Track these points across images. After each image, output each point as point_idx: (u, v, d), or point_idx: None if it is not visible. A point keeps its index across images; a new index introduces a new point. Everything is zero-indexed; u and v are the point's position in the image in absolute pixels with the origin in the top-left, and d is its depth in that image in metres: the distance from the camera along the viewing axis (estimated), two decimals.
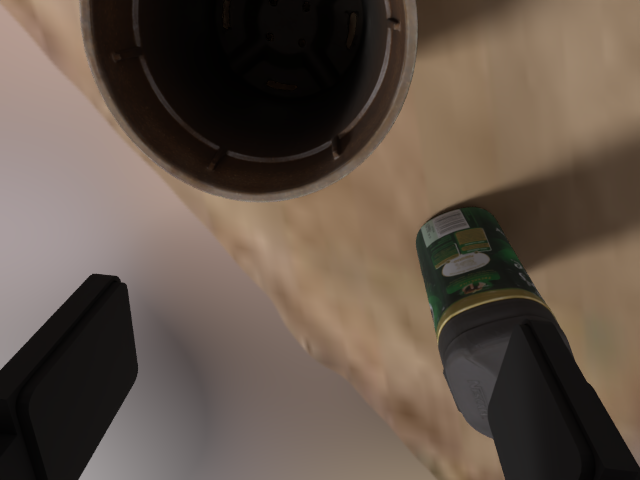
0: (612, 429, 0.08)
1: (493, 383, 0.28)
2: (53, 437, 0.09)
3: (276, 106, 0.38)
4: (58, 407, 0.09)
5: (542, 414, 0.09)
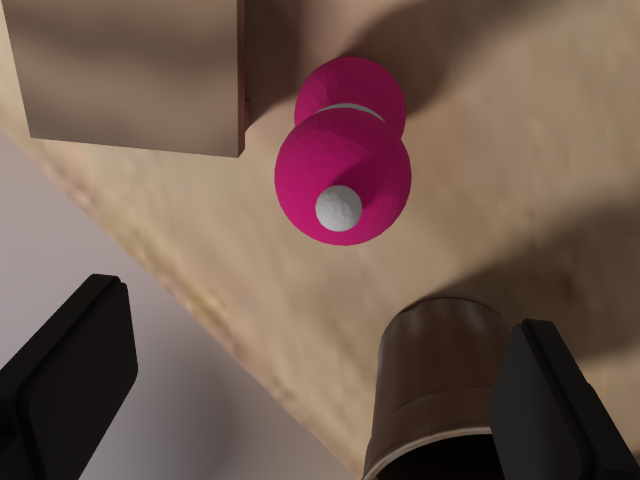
0: (612, 429, 0.08)
1: None
2: (53, 437, 0.09)
3: None
4: (58, 407, 0.09)
5: (542, 414, 0.09)
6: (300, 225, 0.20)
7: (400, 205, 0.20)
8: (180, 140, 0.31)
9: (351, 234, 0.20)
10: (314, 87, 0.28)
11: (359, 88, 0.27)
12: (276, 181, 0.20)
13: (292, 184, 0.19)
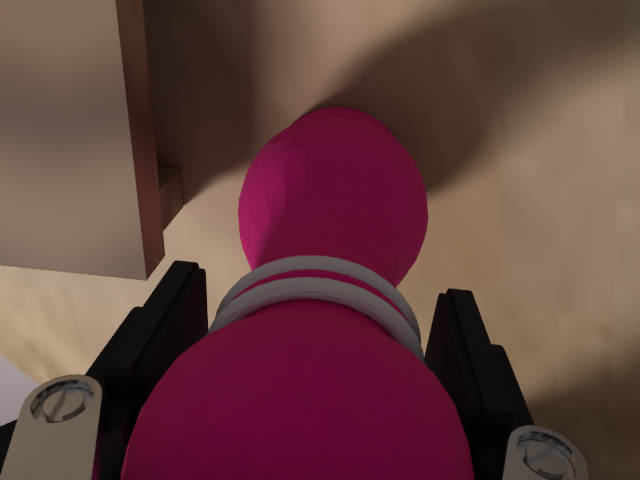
0: (501, 378, 0.09)
1: None
2: None
3: None
4: None
5: (450, 370, 0.10)
6: None
7: None
8: (48, 253, 0.19)
9: None
10: (266, 178, 0.16)
11: (345, 186, 0.14)
12: None
13: None
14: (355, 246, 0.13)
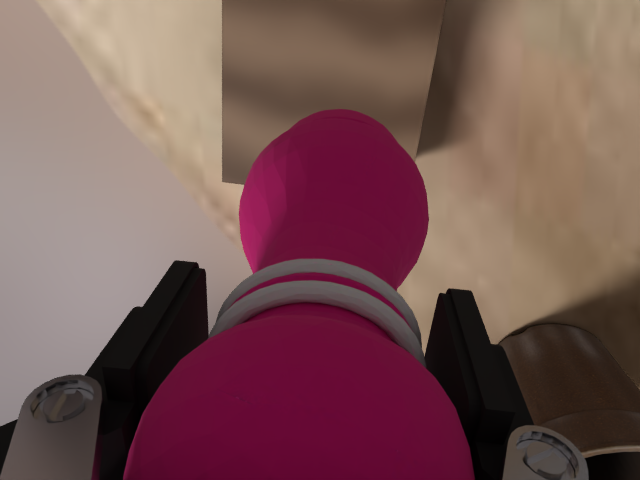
0: (501, 378, 0.09)
1: None
2: None
3: None
4: (162, 380, 0.10)
5: (450, 370, 0.10)
6: None
7: None
8: None
9: None
10: (267, 180, 0.16)
11: (346, 189, 0.14)
12: None
13: None
14: (356, 249, 0.13)
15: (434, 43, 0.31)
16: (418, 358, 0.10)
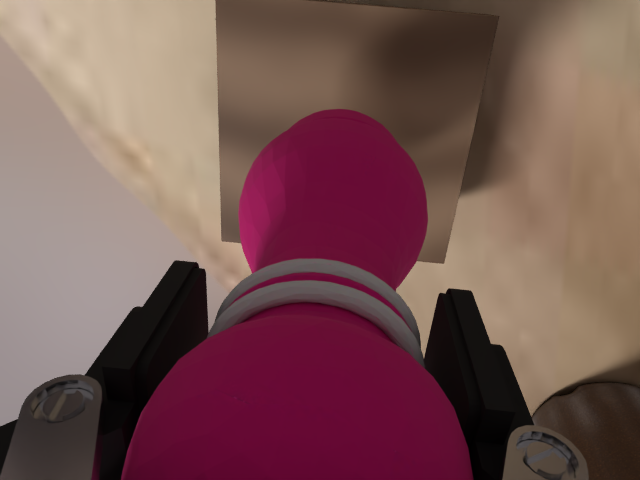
0: (501, 378, 0.09)
1: None
2: None
3: None
4: None
5: (450, 370, 0.10)
6: None
7: None
8: None
9: None
10: (267, 180, 0.16)
11: (345, 189, 0.14)
12: None
13: None
14: (355, 249, 0.13)
15: (481, 74, 0.25)
16: (417, 358, 0.10)
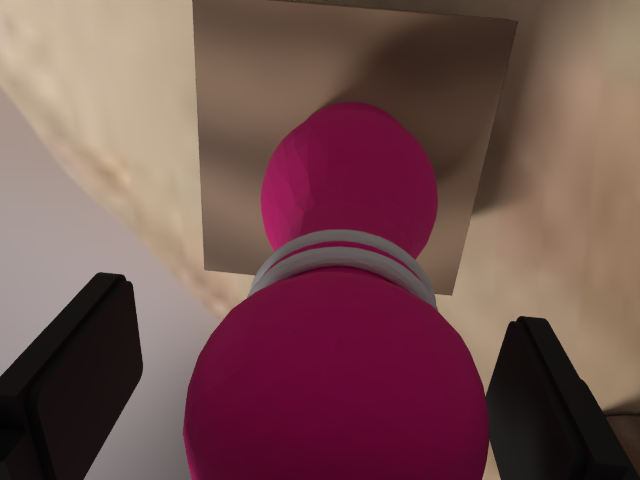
0: (604, 424, 0.08)
1: None
2: (61, 434, 0.09)
3: None
4: (65, 404, 0.09)
5: (535, 410, 0.09)
6: None
7: None
8: None
9: None
10: (290, 165, 0.17)
11: (364, 173, 0.16)
12: None
13: None
14: (376, 225, 0.14)
15: (497, 87, 0.22)
16: None
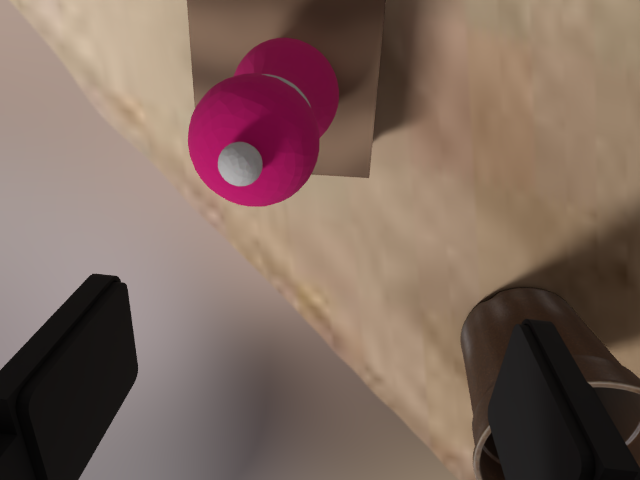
0: (612, 429, 0.08)
1: None
2: (53, 437, 0.09)
3: None
4: (58, 407, 0.09)
5: (542, 414, 0.09)
6: (213, 186, 0.21)
7: (306, 163, 0.21)
8: (322, 165, 0.39)
9: (260, 192, 0.21)
10: (245, 66, 0.30)
11: (284, 64, 0.28)
12: (189, 145, 0.21)
13: (200, 145, 0.20)
14: None
15: (380, 27, 0.34)
16: None
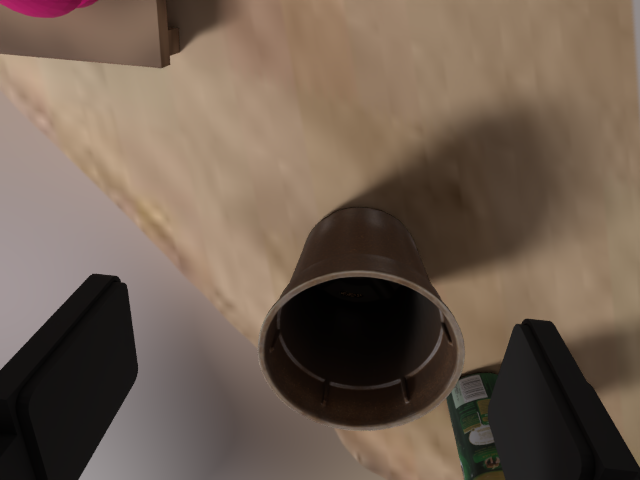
0: (612, 429, 0.08)
1: None
2: (53, 437, 0.09)
3: (349, 315, 0.53)
4: (58, 407, 0.09)
5: (542, 414, 0.09)
6: None
7: None
8: (113, 53, 0.38)
9: None
10: None
11: None
12: None
13: None
14: None
15: None
16: None
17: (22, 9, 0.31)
